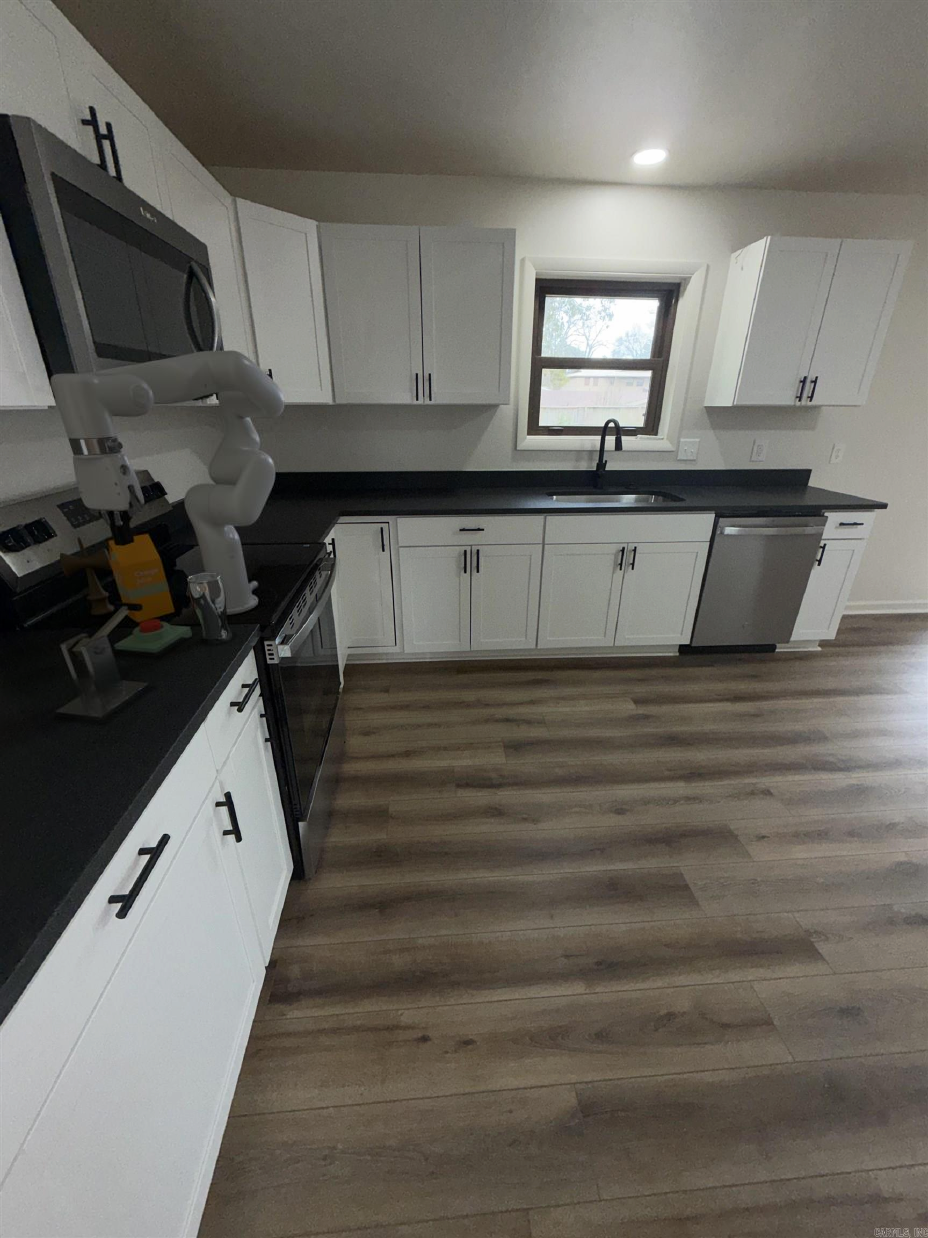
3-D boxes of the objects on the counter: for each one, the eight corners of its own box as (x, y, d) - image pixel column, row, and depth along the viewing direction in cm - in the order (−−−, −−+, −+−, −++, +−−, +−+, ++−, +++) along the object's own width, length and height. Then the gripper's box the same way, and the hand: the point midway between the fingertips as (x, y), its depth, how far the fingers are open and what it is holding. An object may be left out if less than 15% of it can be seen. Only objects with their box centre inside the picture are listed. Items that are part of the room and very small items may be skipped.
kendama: (80, 613, 127) (53, 537, 118) (125, 605, 132) (102, 531, 123) (80, 621, 122) (52, 542, 114) (126, 612, 127) (102, 536, 119)
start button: (150, 625, 112) (148, 618, 111) (166, 626, 111) (164, 619, 110) (136, 633, 108) (134, 625, 107) (153, 634, 107) (151, 627, 107)
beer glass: (221, 646, 110) (207, 583, 104) (194, 644, 111) (178, 581, 105) (240, 633, 116) (228, 572, 110) (214, 630, 117) (200, 570, 111)
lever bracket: (109, 684, 96) (88, 624, 90) (150, 688, 94) (131, 628, 89) (57, 717, 86) (30, 652, 80) (102, 723, 84) (78, 657, 79)
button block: (154, 632, 117) (149, 616, 115) (192, 635, 115) (188, 619, 113) (116, 654, 107) (111, 637, 105) (157, 657, 105) (152, 641, 104)
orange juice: (175, 611, 127) (155, 535, 119) (137, 623, 121) (113, 543, 113) (162, 604, 132) (142, 530, 124) (125, 614, 126) (101, 537, 118)
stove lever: (122, 607, 95) (115, 598, 93) (145, 609, 94) (138, 600, 92) (73, 658, 86) (64, 649, 84) (97, 661, 85) (89, 651, 83)
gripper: (147, 446, 94) (171, 540, 102) (79, 445, 96) (108, 537, 104) (114, 450, 87) (143, 551, 95) (43, 449, 90) (77, 547, 97)
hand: (125, 543), depth 99 cm, fingers closed
